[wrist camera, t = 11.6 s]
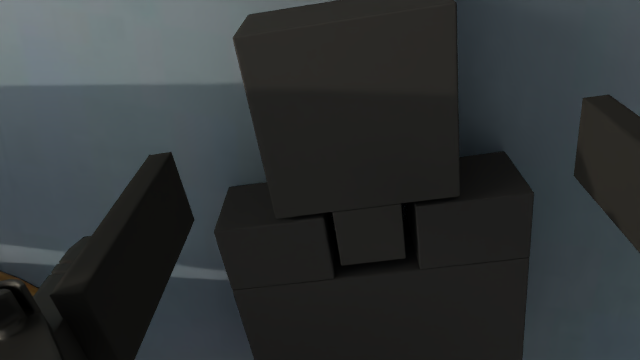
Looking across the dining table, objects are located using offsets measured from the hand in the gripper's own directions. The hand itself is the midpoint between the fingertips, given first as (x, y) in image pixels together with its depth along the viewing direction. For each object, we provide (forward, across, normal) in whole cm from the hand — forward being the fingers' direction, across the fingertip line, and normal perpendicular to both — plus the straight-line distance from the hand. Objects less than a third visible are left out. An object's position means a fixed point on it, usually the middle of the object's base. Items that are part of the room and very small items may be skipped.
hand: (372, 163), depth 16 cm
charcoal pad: (+8, 0, -10) cm, 13 cm away
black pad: (+8, 0, -2) cm, 8 cm away
